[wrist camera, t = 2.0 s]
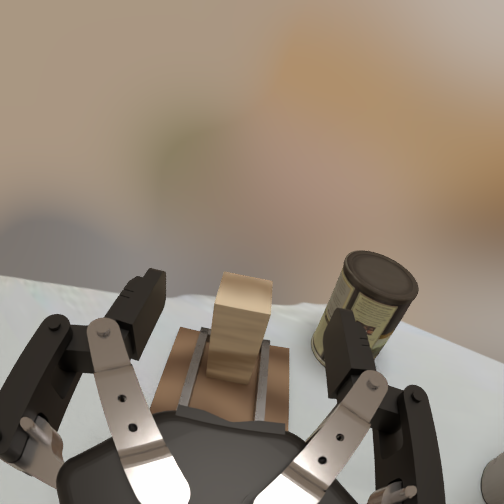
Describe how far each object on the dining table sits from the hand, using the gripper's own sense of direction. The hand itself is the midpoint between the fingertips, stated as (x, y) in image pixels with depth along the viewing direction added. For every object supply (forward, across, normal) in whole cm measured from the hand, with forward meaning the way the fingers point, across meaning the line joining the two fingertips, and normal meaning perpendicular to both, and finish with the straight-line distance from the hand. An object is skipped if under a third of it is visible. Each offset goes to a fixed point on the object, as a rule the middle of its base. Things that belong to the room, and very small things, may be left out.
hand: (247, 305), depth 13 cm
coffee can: (+18, -16, +21) cm, 32 cm away
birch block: (+11, 0, +20) cm, 23 cm away
